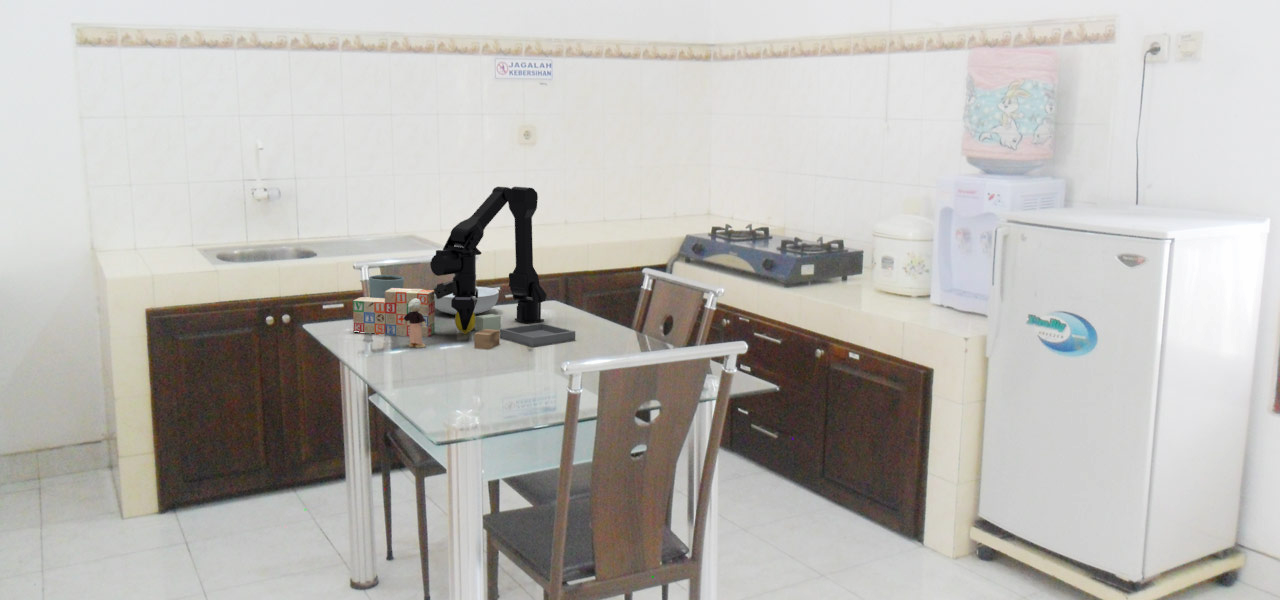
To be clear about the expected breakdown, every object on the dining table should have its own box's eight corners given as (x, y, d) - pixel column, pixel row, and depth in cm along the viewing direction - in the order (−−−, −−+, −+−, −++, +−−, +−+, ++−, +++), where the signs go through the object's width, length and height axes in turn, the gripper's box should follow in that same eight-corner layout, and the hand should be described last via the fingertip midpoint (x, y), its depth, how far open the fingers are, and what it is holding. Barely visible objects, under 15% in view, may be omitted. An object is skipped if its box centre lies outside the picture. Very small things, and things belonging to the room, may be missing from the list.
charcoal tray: (542, 331, 305) (542, 323, 305) (575, 340, 295) (575, 331, 294) (499, 338, 295) (499, 329, 295) (532, 347, 285) (532, 337, 284)
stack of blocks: (352, 333, 297) (351, 289, 295) (361, 329, 303) (360, 286, 301) (428, 337, 294) (428, 292, 292) (435, 332, 301) (435, 289, 299)
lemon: (456, 332, 301) (455, 304, 300) (476, 332, 302) (476, 304, 301) (454, 336, 296) (454, 307, 295) (474, 336, 296) (474, 307, 295)
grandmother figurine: (432, 346, 283) (431, 298, 281) (424, 348, 279) (424, 300, 277) (406, 343, 285) (405, 296, 283) (398, 346, 282) (397, 298, 280)
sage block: (492, 327, 310) (492, 314, 309) (500, 329, 307) (500, 316, 306) (475, 330, 306) (475, 316, 305) (483, 332, 303) (483, 318, 302)
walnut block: (485, 343, 289) (485, 328, 288) (499, 344, 288) (499, 330, 287) (474, 348, 282) (474, 333, 281) (488, 350, 281) (488, 334, 280)
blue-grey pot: (369, 314, 325) (369, 274, 323) (404, 313, 327) (403, 274, 325) (369, 320, 315) (368, 279, 313) (405, 319, 318) (404, 279, 316)
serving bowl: (472, 305, 345) (472, 283, 344) (512, 314, 330) (512, 292, 329) (416, 312, 331) (416, 289, 329) (456, 322, 316) (455, 299, 315)
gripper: (438, 266, 304) (438, 321, 307) (432, 276, 286) (432, 334, 289) (478, 267, 305) (478, 321, 308) (474, 277, 287) (474, 334, 290)
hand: (465, 327), depth 299 cm, fingers closed on lemon, 5 cm apart
